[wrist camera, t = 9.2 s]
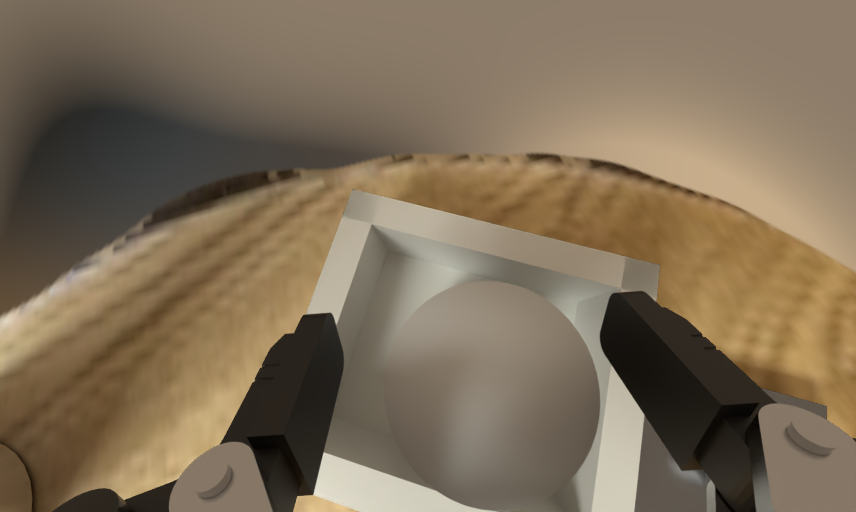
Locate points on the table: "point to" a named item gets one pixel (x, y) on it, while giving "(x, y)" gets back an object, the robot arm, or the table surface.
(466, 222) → the bin
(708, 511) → the robot arm
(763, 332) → the table surface
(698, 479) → the stud plate
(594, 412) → the knob
